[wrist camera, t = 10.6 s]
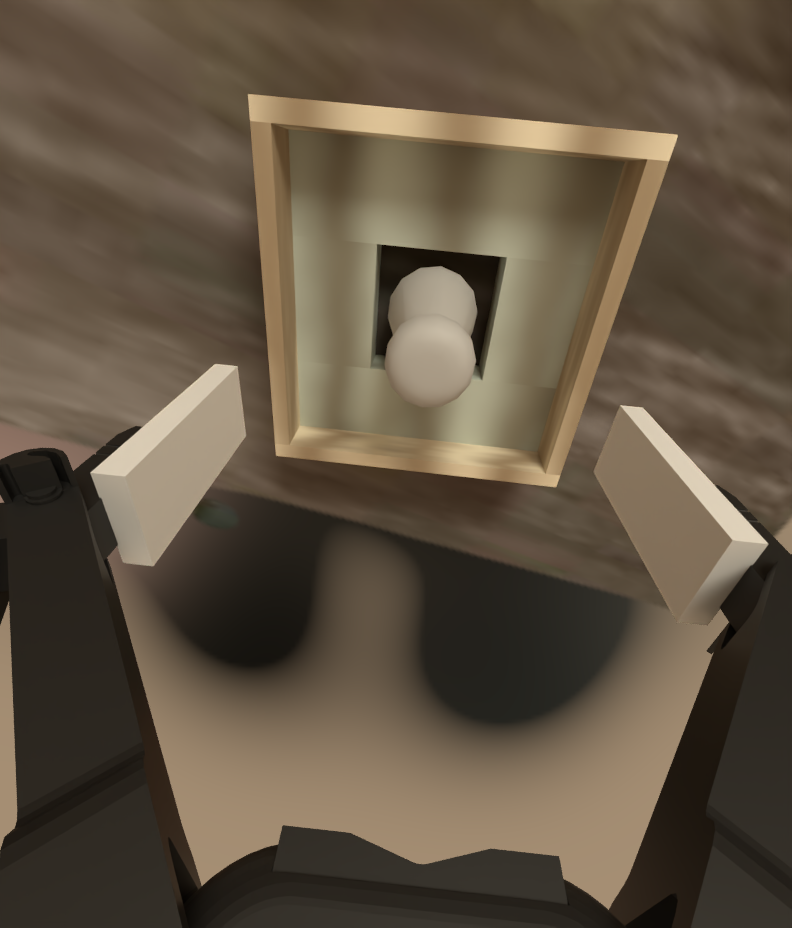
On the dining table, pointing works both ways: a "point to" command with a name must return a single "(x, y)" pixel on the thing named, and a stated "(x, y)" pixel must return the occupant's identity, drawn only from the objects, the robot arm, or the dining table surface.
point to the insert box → (446, 229)
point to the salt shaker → (431, 337)
